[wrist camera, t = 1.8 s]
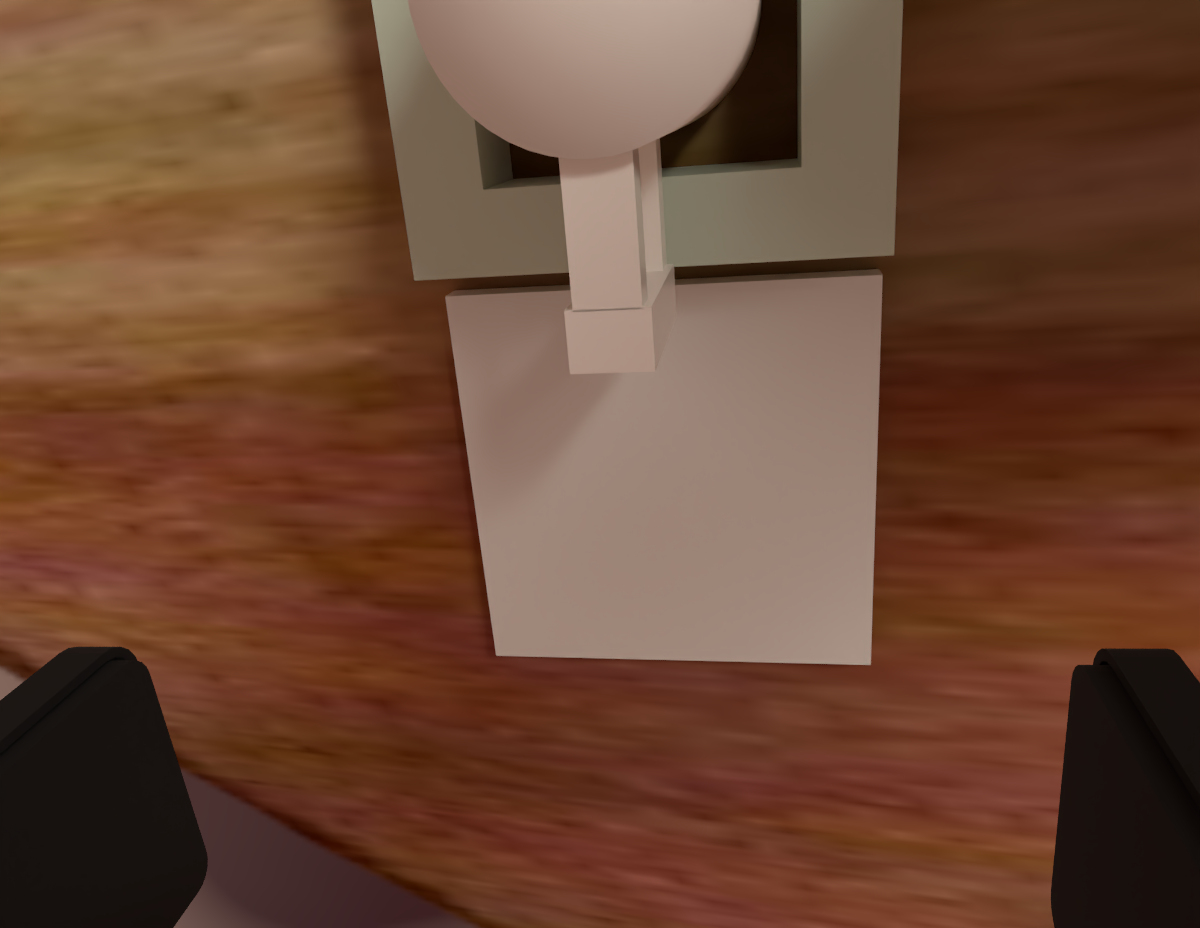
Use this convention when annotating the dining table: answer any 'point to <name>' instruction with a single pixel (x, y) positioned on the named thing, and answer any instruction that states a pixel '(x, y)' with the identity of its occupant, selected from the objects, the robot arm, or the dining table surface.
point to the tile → (679, 473)
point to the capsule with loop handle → (597, 133)
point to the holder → (690, 194)
